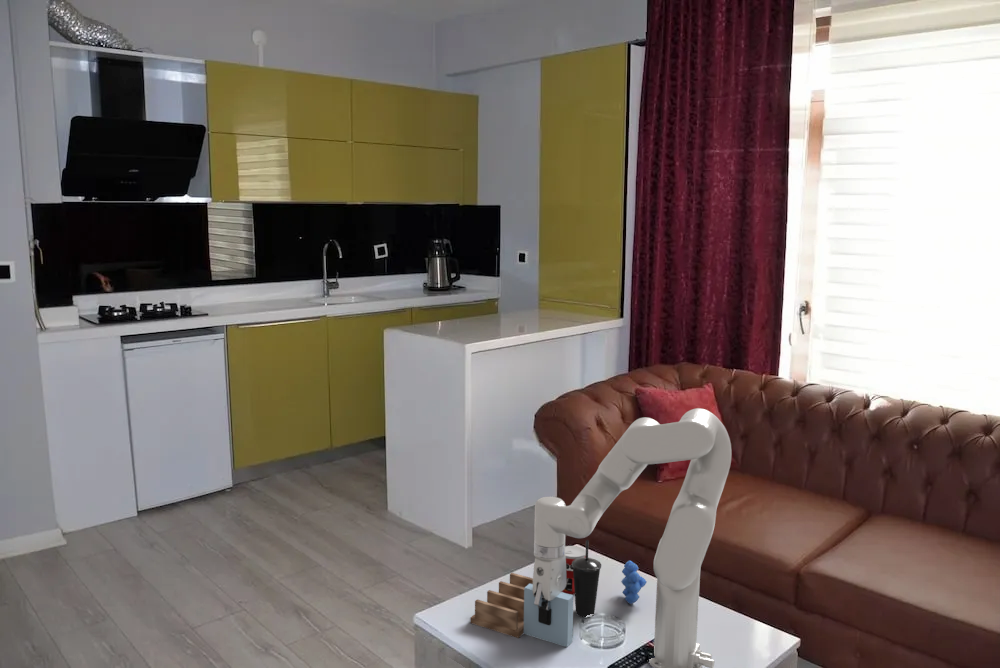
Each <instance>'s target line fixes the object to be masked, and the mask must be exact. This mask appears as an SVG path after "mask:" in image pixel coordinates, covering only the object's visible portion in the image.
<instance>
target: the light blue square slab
mask: <svg viewBox="0 0 1000 668" xmlns="http://www.w3.org/2000/svg"><path fill="white" fill-rule="evenodd" d="M542 601H544V602H545V603H546V600H544V599H542ZM534 602H535V597H534V596H533V584H528V585H527V586H526V587H525V588H524V634H523V635H526V636H529V637H533V638H537V639H540V640H543V641H546V642H550V643H553V644H555V645H559V646H563V647H565V648H569V646H570V645H571V644H572V643H573V631H574V629H573V625H574V624H573V623H574V594H567V593H564V592H561V593H560V594H559V595H557V596H556V597H555V598H554V599H553V600H551V601H550V609H551V624H550V625H546V624H543V623H540V622H539V621H538V614H539V608H538V606H537V605H534Z"/></svg>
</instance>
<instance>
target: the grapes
mask: <svg viewBox="0 0 1000 668" xmlns="http://www.w3.org/2000/svg"><path fill="white" fill-rule="evenodd" d="M623 565H624V566H623V567H624V568H623V569H622V570H621V573H622V574H623V576H624V577H623V578H622V580H621V581H620V583H621V584H622V586H624V589H623V590H622V594H623V595H624V600H625V601H626V602H627V603H628V604H630V605H632V604H634V603H636V602H638V600H639V598H640V595H639V594H638V593H640V591H641V589H642V588H644V587H645V586H646V584H647V581H646V579H645V578H644V577H642V576H641V575H640V573H638V570H639V567H638V565H637V564H636V563H635V562H633V561H632V560H627V562H625V564H623Z"/></svg>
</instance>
